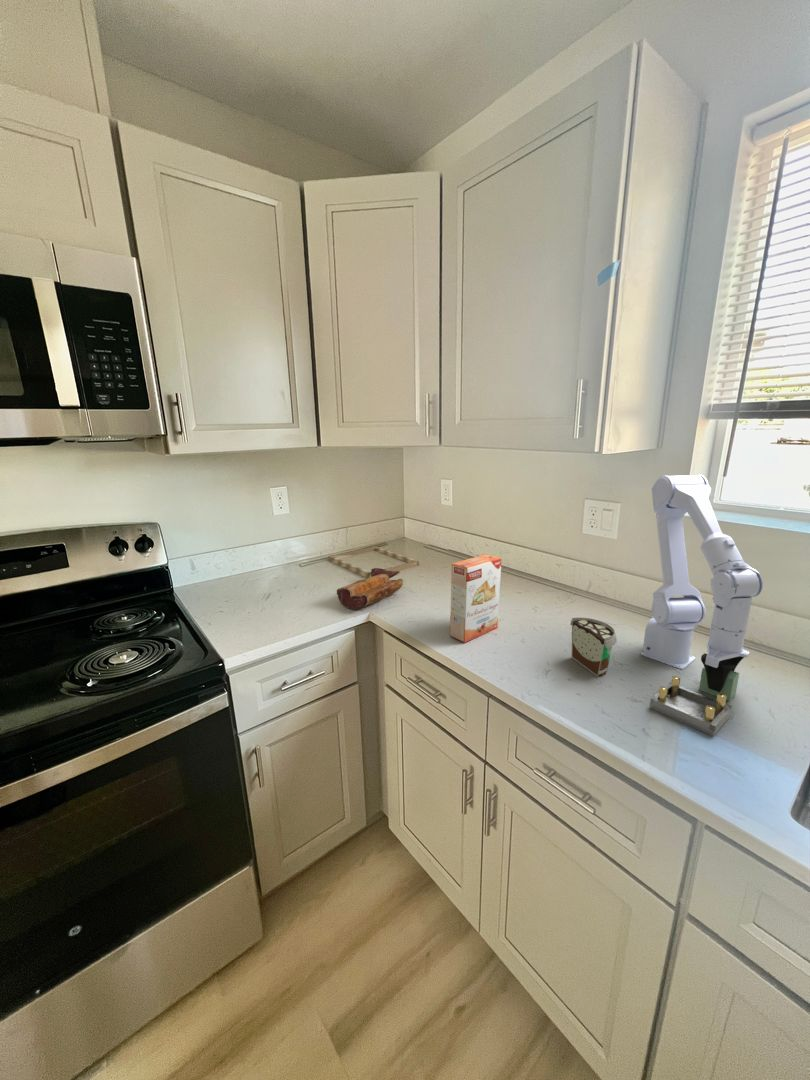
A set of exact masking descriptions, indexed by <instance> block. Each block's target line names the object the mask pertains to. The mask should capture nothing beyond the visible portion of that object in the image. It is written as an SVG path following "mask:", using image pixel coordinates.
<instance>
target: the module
mask: <svg viewBox="0 0 810 1080" xmlns="http://www.w3.org/2000/svg"><path fill="white" fill-rule="evenodd" d="M739 677H740V672H738V671H736V670H734V671H732V670H731V671H730V673H729V674H728V676H727V678H726V681H725V684H724V686H723V688H722V690H721V691H720V692H717V691H714V690H712V689H709V688H708V683H707V675H706V670H705V667H704V666H703V667H702V669H701V675H700V682H699V687H698V690H700V691H702V692H705V693H707V694H710V695H713V696H715V697H717V695H718V693H722V694H724V695H726V696H727V697H726V701H728V702H730V701H731V700H732V699H733V698H734V697H735V696H736V694H737V693H736V692H737V689H738V683H739Z"/></svg>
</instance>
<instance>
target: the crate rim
mask: <svg viewBox="0 0 810 1080" xmlns="http://www.w3.org/2000/svg"><path fill="white" fill-rule="evenodd" d="M373 551H375V552H379V553H381V554H383V555H386V556H389V557H391V558H395V559H398V560H400V561H402V562H405V563H403V564H399V565H394V566H389V567H386V568H384V569H385V570H386V571H400V572H401V571H404V570H408V569H411V568H416V567H417V566H420V561H419V560H416V559H413V558H410V557H407V556H405V555H401V554H399V553H395V552H392V551H389V550H387V549H385V548H380V547H377V546H371V547H365V548H361V549H357V550H352V551H347V552H342V553H337V554H332V555H328V560H329V562H332V563H335V564H336V565H339V566H340V567H343V568H345V569H347V570H349V571H352V572H353V573H356V574H357V575H360V576H361V577H364V578H365V579H367V578H370V577H371V571H368V570H366V569H364V568H361V567H359V566H356V565H354V564H352V563H349V562H346V561H345V560H342V559H343V558H347V557H353V556H356V555H361V554H365V553H370V552H373Z"/></svg>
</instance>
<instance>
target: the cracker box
mask: <svg viewBox="0 0 810 1080" xmlns="http://www.w3.org/2000/svg"><path fill="white" fill-rule="evenodd" d="M502 560H503V559H502V558H501V557H498V556H495V555H490V554H486V553H485V554H482V555H478V556H474V557H472V558H466V559H463V560H459V561H456V562H453V563H451V582H450V583H451V585H450V618H449V619H450V622H449V623H450V624H449V636H450V637H451V638H453V639H456V640H458V641H459V642H462V643H465V644H466V643H467V642H470V641H471V640H474V639H476V638H479V637H481V636H484V635H485V634H487V633H489V632H492V631H494V630H496V629H498V627H499V626H498V625H499V609H500V591H501V578H502V577H501V574H502Z"/></svg>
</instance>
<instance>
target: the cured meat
mask: <svg viewBox="0 0 810 1080" xmlns="http://www.w3.org/2000/svg"><path fill="white" fill-rule="evenodd" d="M385 569H386V568H381V567H380V568H379V567H374V568H371V569H370V572H371V577H370V578H363V579H361V580H358V581H356V582H353V583H351V584H348V585H345V586H342V587H340V588H339V587H338V588H337V589H336V594H337V599H338V601H339V602H340V604H341V605H343V606H344V607H346V608H347V609H350V610H353V611H354V610H359V609H362V608H364V607H366V606H370V605H373V604H374V603H378V602H379V601H381V600H383V599H385V598H387V597H390V596H392V595H393V594H394V593H396V592H397V591H399V590H400V589H402V587H403V585H404V581H403V579H402V578H398V579H392V578H394V577H395V576H397V575H399V574H400V573H401V571H386V570H385Z"/></svg>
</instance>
